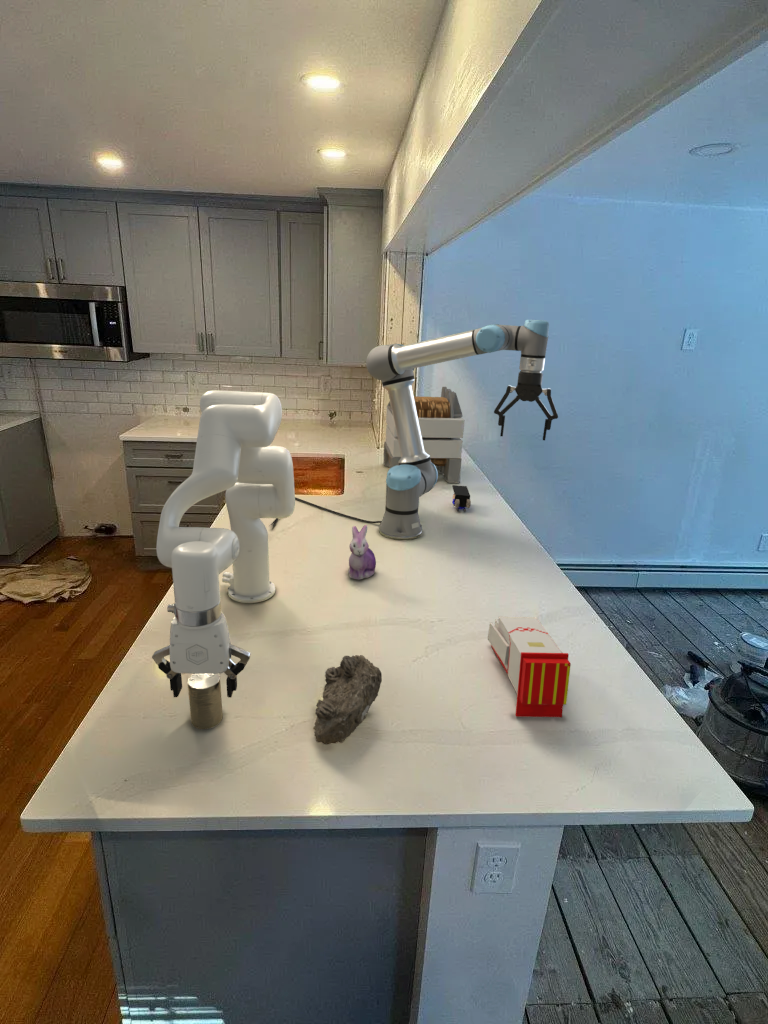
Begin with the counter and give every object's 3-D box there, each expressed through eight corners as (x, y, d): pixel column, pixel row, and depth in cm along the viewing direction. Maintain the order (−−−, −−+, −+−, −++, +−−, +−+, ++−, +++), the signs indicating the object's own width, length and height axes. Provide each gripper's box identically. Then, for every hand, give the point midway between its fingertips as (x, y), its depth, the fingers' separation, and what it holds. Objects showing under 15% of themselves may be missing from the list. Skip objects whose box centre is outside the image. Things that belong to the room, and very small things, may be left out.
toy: (534, 602, 136) (579, 659, 107) (529, 653, 139) (572, 723, 110) (484, 601, 136) (516, 658, 107) (480, 652, 139) (510, 722, 109)
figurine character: (470, 516, 223) (465, 500, 237) (473, 499, 220) (467, 484, 233) (453, 516, 223) (449, 500, 236) (455, 498, 220) (451, 483, 233)
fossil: (318, 656, 121) (374, 625, 116) (346, 686, 123) (402, 656, 118) (294, 738, 101) (359, 705, 96) (328, 771, 104) (393, 740, 99)
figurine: (354, 583, 162) (355, 534, 157) (340, 569, 171) (341, 522, 166) (383, 577, 167) (385, 530, 161) (368, 563, 175) (369, 518, 170)
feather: (288, 507, 224) (291, 503, 223) (271, 531, 197) (274, 527, 197) (285, 505, 224) (287, 501, 223) (267, 528, 197) (269, 524, 197)
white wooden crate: (382, 463, 289) (386, 382, 275) (445, 464, 293) (451, 384, 279) (390, 482, 257) (394, 392, 243) (460, 483, 261) (468, 394, 247)
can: (216, 730, 105) (213, 690, 102) (186, 727, 105) (182, 687, 102) (227, 710, 110) (224, 671, 107) (198, 707, 110) (195, 668, 107)
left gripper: (140, 621, 96) (150, 705, 101) (244, 622, 97) (248, 706, 102) (155, 600, 103) (163, 680, 108) (251, 601, 104) (255, 680, 109)
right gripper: (490, 369, 178) (483, 436, 185) (572, 375, 173) (562, 443, 180) (492, 367, 185) (485, 431, 192) (571, 373, 180) (561, 438, 187)
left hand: (204, 692), depth 105 cm, fingers open, 9 cm apart
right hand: (522, 437), depth 186 cm, fingers open, 13 cm apart
